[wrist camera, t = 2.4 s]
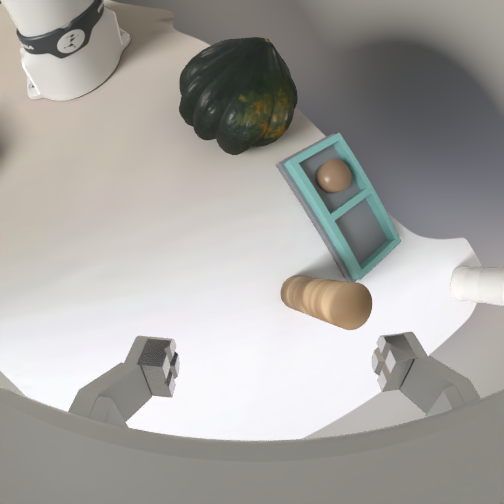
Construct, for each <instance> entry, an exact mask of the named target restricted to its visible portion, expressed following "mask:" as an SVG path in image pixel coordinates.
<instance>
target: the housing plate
mask: <svg viewBox="0 0 504 504" xmlns="http://www.w3.org/2000/svg"><path fill="white" fill-rule="evenodd" d="M276 166H277V168H278V169H279V171H280V172H281V174H282V175H283V177H284V178H285V180H286V181H287V183H288V184H289V186H290V187H291V189H292V191H293V192H294V194H295V195H296V197H297V198H298V200H299V202H300V203H301V205H302V206H303V208H304V210H305V211H306V213H307V214H308V216H309V218H310V219H311V221H312V223H313V224H314V226H315V227H316V229H317V231H318V232H319V234H320V236H321V237H322V239H323V241H324V243H325V244H326V246H327V248H328V249H329V251H330V253H331V254H332V256H333V258H334V260H335V261H336V263H337V265H338V267H339V268H340V270H341V272H342V274H343V275H344V277H345V279H346V281H347V282H353V283H354V282H355V281H356V280H361V279H362V278H363V277H364V276H365V275H366V274H367V273H368V272H369V271H371V270H372V269H373V268H374V267H375V266H376V265H377V264H378V263H379V262H380V261H381V260H382V259H383V258H384V257H385V256H387V255H388V254H389V253H390V252H391V251H392V250H393V249H394V248H395V247H396V246H397V245H398V244H399V243H400V242H401V240H400V238H399V236H398V234H397V231H396V229H395V227H394V225H393V223H392V221H391V219H390V218H389V216H388V214H387V212H386V210H385V208H384V206H383V204H382V203H381V200H380V199H379V197H378V195H377V193H376V192H375V190H374V188H373V186H372V184H371V183H370V181H369V179H368V178H367V176H366V174H365V172H364V171H363V169H362V167H361V166H360V164H359V162H358V161H357V159H356V157H355V156H354V154H353V153H352V151H351V149H350V148H349V147H348V145H347V143H346V142H345V140H344V139H343V137H342V136H341V134H340V133H338V134H336V135H335V134H334V133H333V134H331V135H329V136H327V137H325V138H323V139H321V140H320V141H318V142H316V143H314V144H312V145H310V146H308V147H307V148H305V149H303V150H301V151H299V152H297V153H296V154H294V155H292V156H290V157H288V158H287V159H285V160H283V161H281V162H280V163H278V164H277V165H276Z"/></svg>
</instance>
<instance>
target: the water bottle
mask: <svg viewBox="0 0 504 504" xmlns="http://www.w3.org/2000/svg"><path fill="white" fill-rule="evenodd" d="M450 289H451V293H452V296H453V298H454V299H455V300H458V301H471V302H475V303H481V302H484V303H488V304H494V305H503V306H504V267H491V268H483V267H473V268H471V267H458V268H457V269H456V270H455V271H454V273H453V275H452V277H451V283H450Z"/></svg>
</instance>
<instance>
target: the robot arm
mask: <svg viewBox="0 0 504 504" xmlns="http://www.w3.org/2000/svg"><path fill="white" fill-rule="evenodd" d="M1 2H2V3H3V5H4V6H5V8H6V10H7V11H8V13H9V15H10V16H11V18H12V20H13V21H14V23H15V25H16V27H17V36H18V38H19V42H20V43H21V45H22V47H21V48H20V53H21V56H22V57H21V62H22V66H23V68H24V70H25V72H26V73H27V92H28V96H29V98H30V99H32V100H33V99H40V98H49V99H52V100H58V101H63V100H70V99H74V98H77V97H80V96H82V95H84V94H86V93H88V92H90V91H92V90H93V89H95V88H96V87H98V86H99V85H101V84H102V83H103V82H104V81H105V80H106V79H107V78H108V77H109V76H110V75H111V74H112V72H113V71H114V70H115V68H116V66H117V65H118V62H119V60H120V56H121V53H122V51H123V50H124V49H125V48H126V46H127V45H128V44H129V43H130V41H131V37H130V35H129V34H128V33H127V32H126V31H124V30H123V29H122V28H120V27H119V26H118V22H117V18H116V14H115V12H114V11H111V10H110V9H109V8H107V7H105V6H104V4H103V2H104V0H1ZM377 345H378V348H377V349H376V350H374V352H373V356H372V367H373V370H374V372H375V373H376V374H377V375H379V377H378V383H379V386H380V388H381V391H382V392H384V391H391V390H397V389H400V391H401V392H402V393H403V394H404V395H406V396H407V397H408V398H409V399H410V400H411V401H412V402H413V403H414V404H416V405H417V406H418V407H419V408H420V409H421V410H422V411H423V412H425V413H426V416H425V417H424V418H422V419H419V420H415V421H411V422H407V423H403V424H399V425H394V426H390V427H385V428H380V429H375V430H371V431H364V432H358V433H352V434H345V435H338V436H330V437H321V438H310V439H296V440H273V441H240V440H217V439H203V438H192V437H183V436H174V435H167V434H160V433H154V432H148V431H142V430H137V429H132V428H129V427H128V426H127V424H126V423H125V422H126V421H127V420H128V419H129V418H130V417H131V416H132V415H133V414H135V413H136V412H137V411H138V410H139V409H140V408H141V407H142V406H143V405H144V404H145V403H146V402H147V401H148V400H149V399H150V398H151V397H152V396H162V397H172V396H173V393H174V389H175V381H174V379H175V378H176V377H178V373H179V356H178V354H177V353H176V352H175V349H176V343H175V340H174V339H168V338H158V337H146V336H137V337H136V338H135V341H134V343H133V345H132V347H131V349H130V351H129V353H128V356H127V358H126V360H125V362H124V363H120V364H118V365H117V366H115V367H114V368H112V369H111V370H109V371H107V372H106V373H104V374H103V375H101V376H100V377H98V378H97V379H95V380H94V381H92V382H91V383H89V384H88V385H86V386H84V387H83V388H81V389H80V390H79V391H78V393H77V395H76V397H75V399H74V401H73V403H72V405H71V407H70V409H69V411H68V412H66V411H63V410H60V409H57V408H54V407H51V406H49V405H46V404H43V403H40V402H38V401H35V400H33V399H30V398H28V397H25V396H23V395H20V394H18V393H16V392H14V391H12V390H9V389H7V388H0V504H504V389H502V390H500V391H497V392H495V393H493V394H491V395H488V396H486V397H484V398H480V397H479V395H478V393H477V391H476V390H475V388H474V386H473V384H472V383H471V381H470V380H469V379H468V378H466V377H464V376H463V375H461V374H459V373H458V372H456V371H454V370H453V369H451V368H449V367H448V366H446V365H444V364H443V363H441V362H439V361H438V360H436V359H434V358H433V357H431V356H429V357H428V356H427V354H426V352H425V351H424V349H423V347H422V346H421V344H420V343H419V341H418V339H417V338H416V336H415V334H414V333H413V332H406V333H401V334H392V335H383V336H380V337H379V338H378V341H377Z"/></svg>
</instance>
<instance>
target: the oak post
mask: <svg viewBox="0 0 504 504" xmlns="http://www.w3.org/2000/svg"><path fill="white" fill-rule="evenodd" d="M281 298H282V301H283V302H284V304H285V305H286V306H288V307H290V308H292V309H295V310H297V311H300V312H302V313H305V314H307V315H310V316H312V317H315V318H317V319H320V320H323V321H325V322H328V323H330V324H333V325H335V326H338V327H341V328H343V329H346V330H354V329H357V328H359V327H361V326H362V325H363V324H364V323H365V322H366V321H367V319H368V318H369V316H370V313H371V310H372V297H371V294H370V292H369V290H368V289H367V288H366V287H365V286H364V285H362V284H360V283H353V282H345V281H336V280H327V279H319V278H310V277H302V276H293V277H290V278H288V279H287V280H286V281H285V282H284V284H283V285H282V288H281Z"/></svg>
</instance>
